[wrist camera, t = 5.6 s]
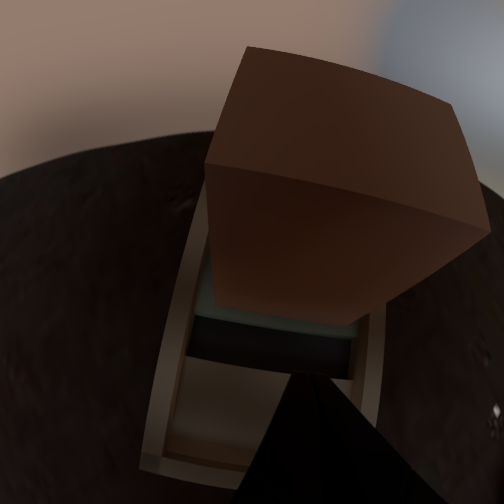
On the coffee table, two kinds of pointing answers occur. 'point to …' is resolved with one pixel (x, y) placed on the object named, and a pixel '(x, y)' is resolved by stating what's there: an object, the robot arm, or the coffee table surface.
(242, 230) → the terracotta block
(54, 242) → the coffee table surface
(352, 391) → the box
